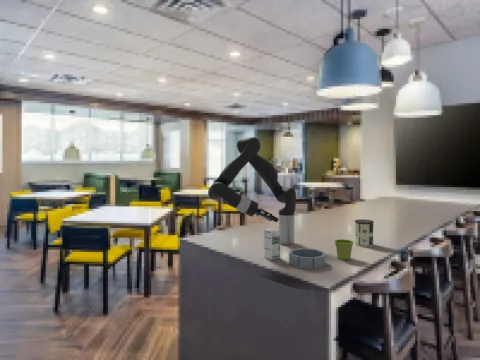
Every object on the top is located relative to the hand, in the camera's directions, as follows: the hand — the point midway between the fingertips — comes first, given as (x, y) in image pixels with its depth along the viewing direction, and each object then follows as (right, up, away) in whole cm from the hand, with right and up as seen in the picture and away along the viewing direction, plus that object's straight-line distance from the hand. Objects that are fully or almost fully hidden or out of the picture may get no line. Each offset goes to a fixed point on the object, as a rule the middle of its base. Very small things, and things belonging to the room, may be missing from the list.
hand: (274, 220), depth 167 cm
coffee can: (+55, -18, +29) cm, 65 cm away
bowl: (+15, -20, -7) cm, 26 cm away
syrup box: (-1, -20, +3) cm, 20 cm away
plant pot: (+35, -20, +1) cm, 40 cm away
